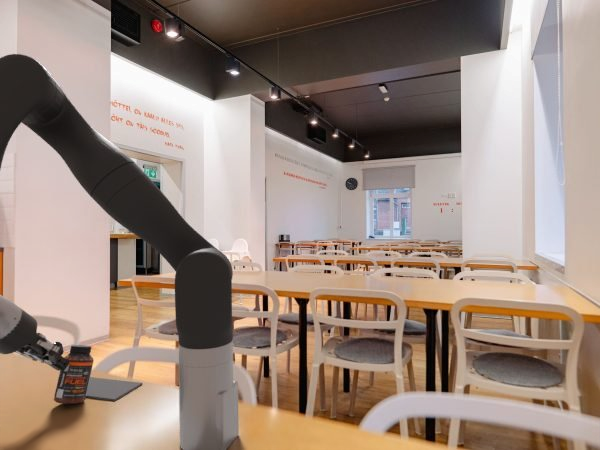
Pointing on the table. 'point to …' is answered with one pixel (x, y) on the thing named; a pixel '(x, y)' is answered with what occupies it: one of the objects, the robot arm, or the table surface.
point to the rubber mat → (109, 388)
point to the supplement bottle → (75, 376)
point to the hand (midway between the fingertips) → (63, 366)
